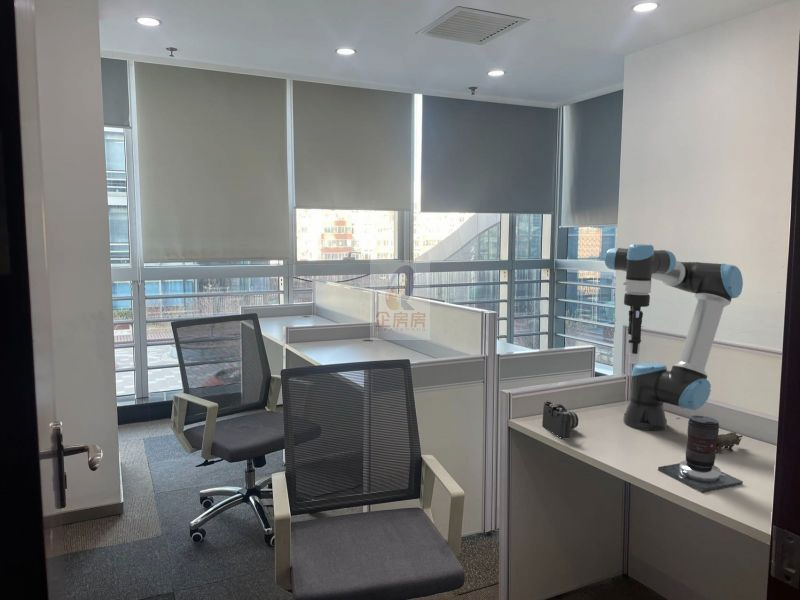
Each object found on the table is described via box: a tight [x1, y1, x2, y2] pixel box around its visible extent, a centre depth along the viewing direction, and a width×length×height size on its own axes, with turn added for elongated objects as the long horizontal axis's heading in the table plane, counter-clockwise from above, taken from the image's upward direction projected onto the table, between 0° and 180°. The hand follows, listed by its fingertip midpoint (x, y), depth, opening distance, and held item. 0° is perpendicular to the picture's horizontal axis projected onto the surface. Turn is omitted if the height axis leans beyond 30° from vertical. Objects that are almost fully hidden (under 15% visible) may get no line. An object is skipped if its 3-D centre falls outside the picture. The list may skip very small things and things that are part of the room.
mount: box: [657, 459, 744, 494], centre depth 175 cm, size 16×16×3 cm
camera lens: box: [685, 415, 720, 472], centre depth 173 cm, size 8×8×15 cm
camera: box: [541, 400, 579, 439], centre depth 211 cm, size 14×11×10 cm
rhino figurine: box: [716, 431, 743, 455], centre depth 197 cm, size 4×14×6 cm, turn 117°
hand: (632, 358), depth 188 cm, fingers open, 13 cm apart
